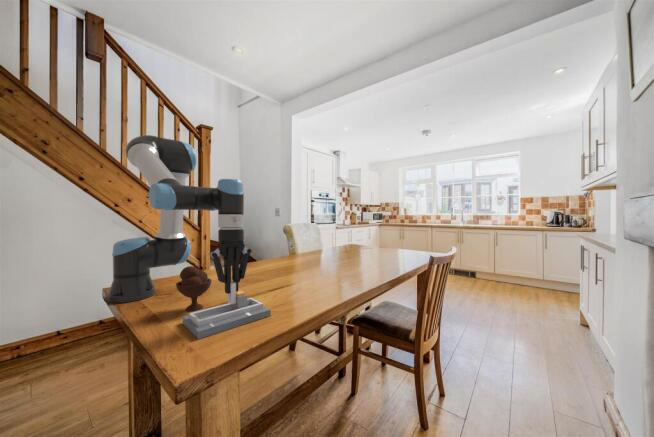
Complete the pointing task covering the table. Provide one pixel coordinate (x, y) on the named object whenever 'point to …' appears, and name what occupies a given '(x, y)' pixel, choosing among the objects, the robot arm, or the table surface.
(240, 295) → the fader tab
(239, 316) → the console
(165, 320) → the table surface
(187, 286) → the ice cream bowl
